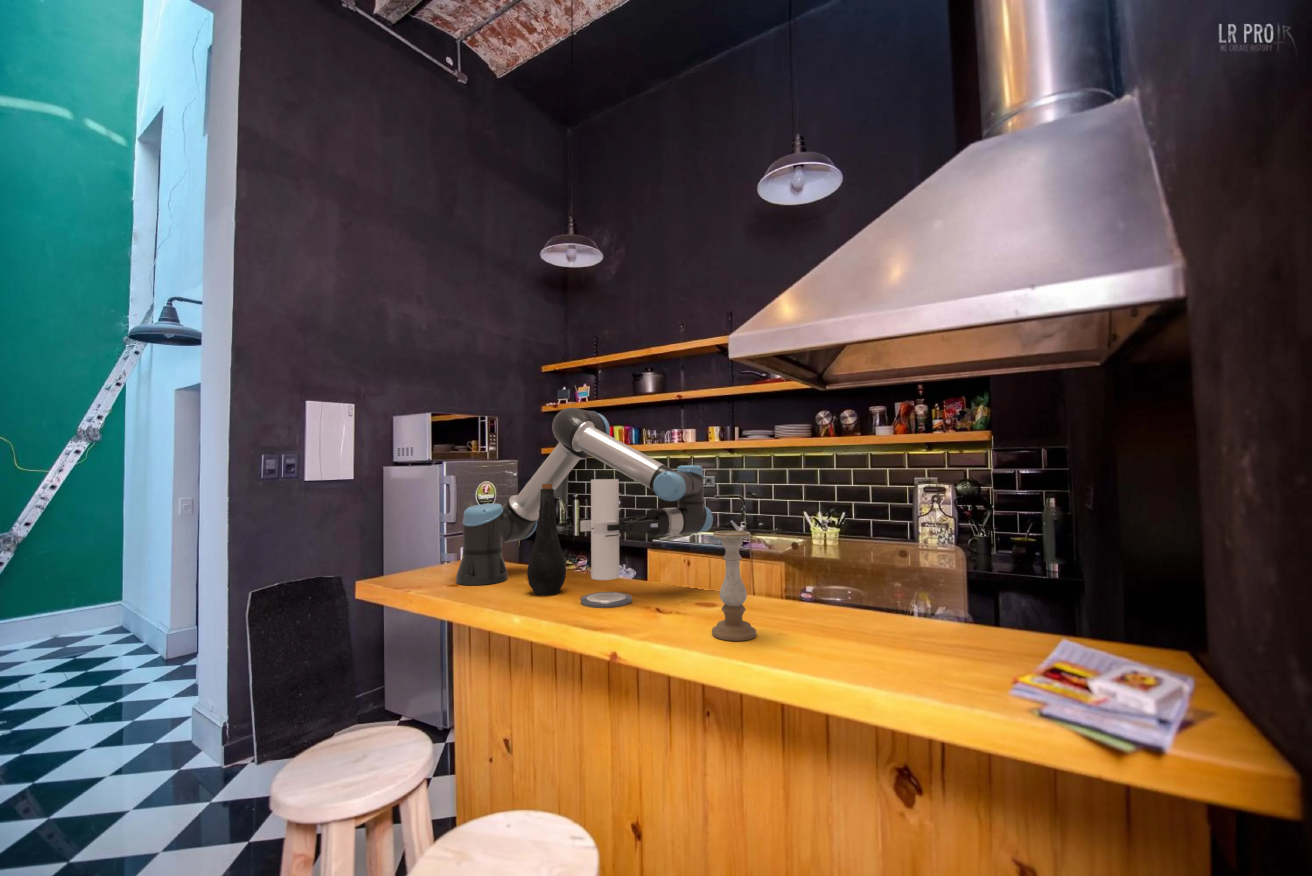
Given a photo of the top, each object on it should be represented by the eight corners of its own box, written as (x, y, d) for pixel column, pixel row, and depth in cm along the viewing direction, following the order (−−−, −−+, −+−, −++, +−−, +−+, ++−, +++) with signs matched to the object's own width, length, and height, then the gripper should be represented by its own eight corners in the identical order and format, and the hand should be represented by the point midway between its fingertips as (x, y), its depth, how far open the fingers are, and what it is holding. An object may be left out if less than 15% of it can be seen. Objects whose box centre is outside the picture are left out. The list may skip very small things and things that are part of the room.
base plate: (572, 600, 136) (572, 595, 136) (616, 593, 143) (616, 589, 143) (595, 610, 125) (595, 605, 125) (641, 602, 132) (641, 598, 132)
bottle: (570, 588, 150) (570, 483, 152) (560, 597, 139) (560, 484, 142) (534, 588, 151) (535, 483, 153) (521, 596, 140) (522, 484, 143)
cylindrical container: (593, 574, 138) (593, 479, 140) (620, 574, 138) (620, 479, 140) (589, 580, 131) (588, 479, 133) (617, 580, 131) (616, 479, 132)
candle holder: (740, 644, 99) (737, 535, 100) (703, 635, 105) (701, 532, 106) (764, 634, 105) (762, 531, 107) (728, 626, 111) (726, 529, 113)
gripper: (684, 539, 136) (606, 546, 124) (643, 532, 153) (571, 538, 141) (684, 510, 137) (606, 514, 124) (643, 506, 154) (571, 510, 141)
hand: (587, 527), depth 132 cm, fingers closed on cylindrical container, 7 cm apart
